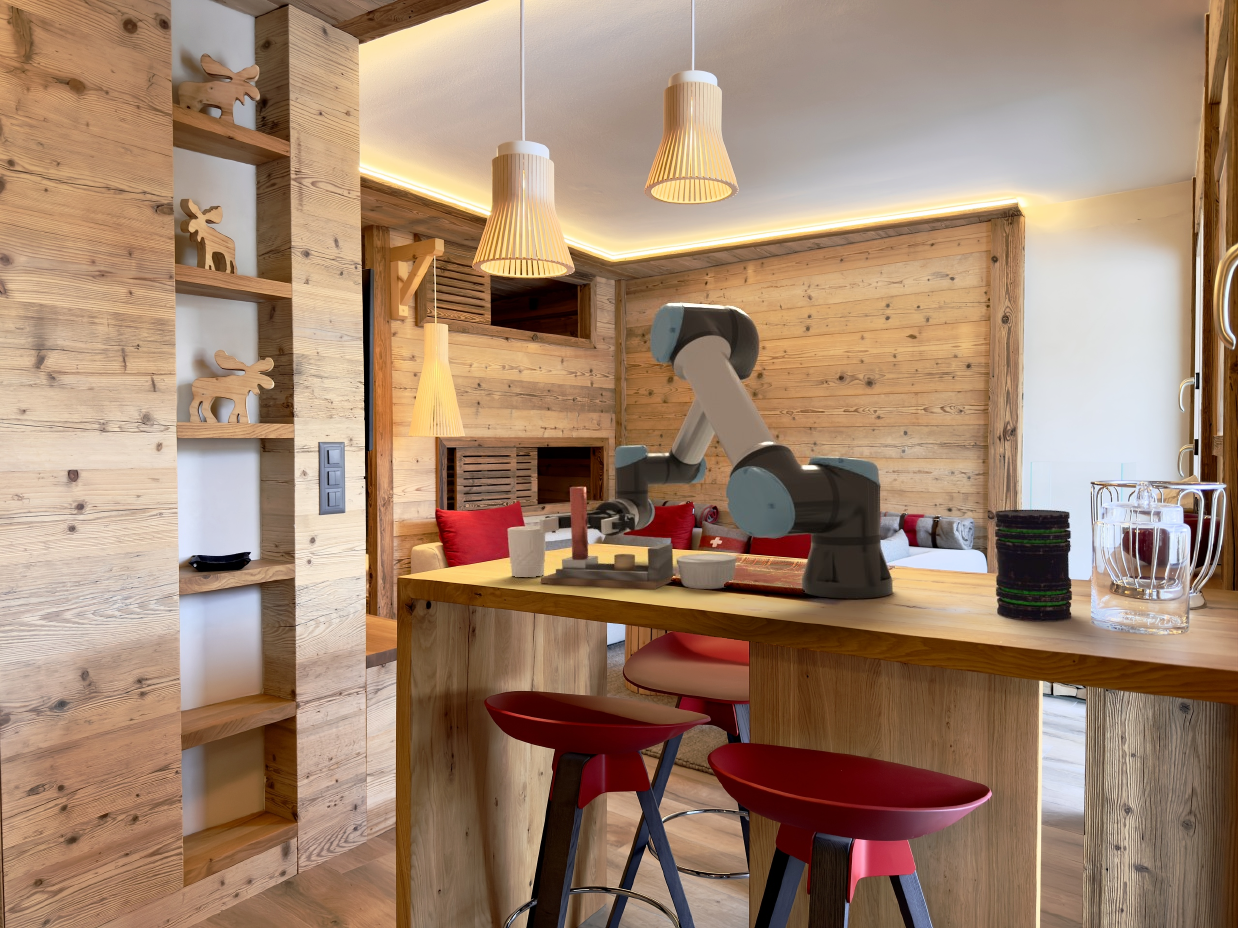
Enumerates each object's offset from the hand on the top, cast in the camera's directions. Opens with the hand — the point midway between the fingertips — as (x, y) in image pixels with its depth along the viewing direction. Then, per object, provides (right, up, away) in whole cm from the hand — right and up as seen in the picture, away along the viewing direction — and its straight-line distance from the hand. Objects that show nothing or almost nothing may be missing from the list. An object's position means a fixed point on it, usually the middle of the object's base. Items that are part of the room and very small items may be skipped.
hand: (571, 526), depth 156 cm
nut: (+10, -9, -1) cm, 14 cm away
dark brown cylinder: (+70, -10, -39) cm, 80 cm away
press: (+7, -11, +1) cm, 13 cm away
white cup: (-10, -11, +11) cm, 19 cm away
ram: (+2, -9, +3) cm, 10 cm away
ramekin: (+26, -11, -6) cm, 28 cm away
